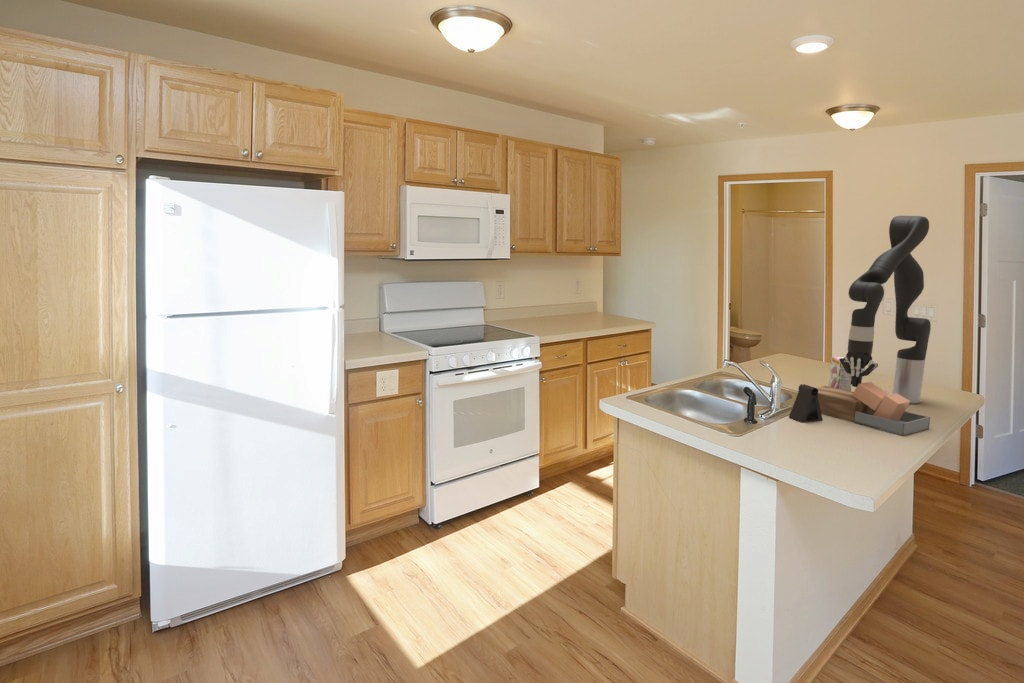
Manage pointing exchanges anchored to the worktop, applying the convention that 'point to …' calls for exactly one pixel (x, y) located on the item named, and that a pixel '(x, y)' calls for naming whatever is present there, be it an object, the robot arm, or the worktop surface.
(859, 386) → the pink rectangular block
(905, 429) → the tray
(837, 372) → the candy bar box
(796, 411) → the phone stand
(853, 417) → the brown wooden block
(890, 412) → the tile front
